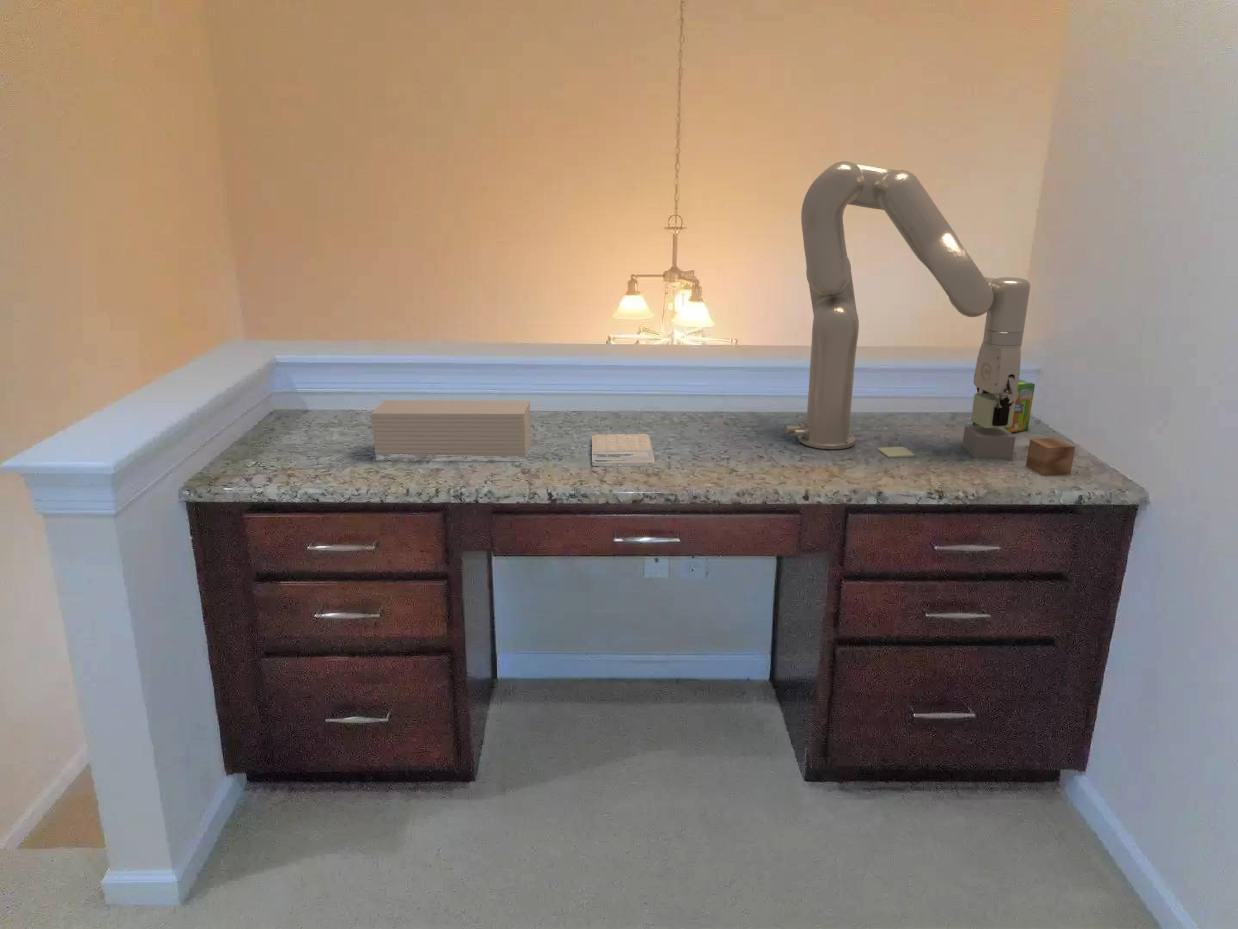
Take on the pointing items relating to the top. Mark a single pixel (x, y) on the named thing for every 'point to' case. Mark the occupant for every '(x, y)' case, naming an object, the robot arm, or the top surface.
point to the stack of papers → (452, 428)
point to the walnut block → (1050, 456)
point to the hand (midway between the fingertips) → (991, 420)
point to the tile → (895, 452)
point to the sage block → (988, 410)
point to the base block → (988, 442)
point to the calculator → (623, 448)
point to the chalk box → (1021, 407)
